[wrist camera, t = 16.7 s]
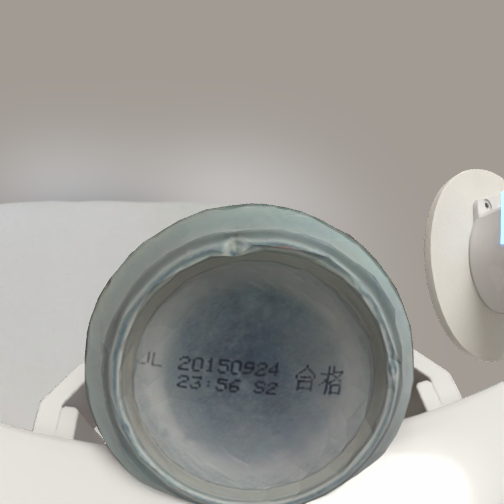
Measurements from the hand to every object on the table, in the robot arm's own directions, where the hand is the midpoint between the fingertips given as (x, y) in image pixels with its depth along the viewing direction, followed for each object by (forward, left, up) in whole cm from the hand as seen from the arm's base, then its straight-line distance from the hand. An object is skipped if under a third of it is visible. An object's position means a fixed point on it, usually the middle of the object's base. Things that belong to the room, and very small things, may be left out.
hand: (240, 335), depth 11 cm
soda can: (0, +1, -7) cm, 7 cm away
